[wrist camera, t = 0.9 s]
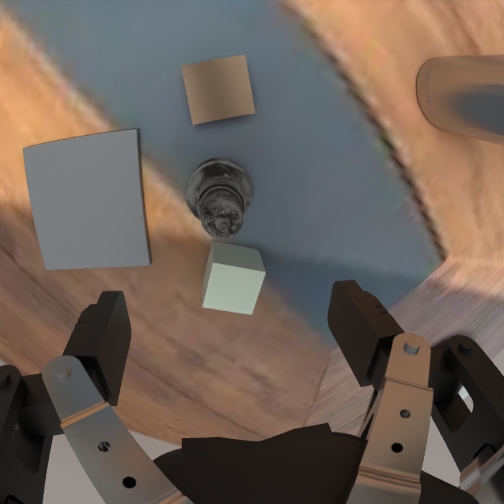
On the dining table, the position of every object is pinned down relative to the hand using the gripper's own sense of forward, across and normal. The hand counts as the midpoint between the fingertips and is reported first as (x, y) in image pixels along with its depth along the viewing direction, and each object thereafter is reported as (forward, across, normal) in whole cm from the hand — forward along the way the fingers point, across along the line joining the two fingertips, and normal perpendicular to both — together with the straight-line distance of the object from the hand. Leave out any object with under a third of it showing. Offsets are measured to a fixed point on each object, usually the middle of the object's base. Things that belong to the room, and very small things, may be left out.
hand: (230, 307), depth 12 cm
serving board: (+21, +13, +1) cm, 25 cm away
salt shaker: (+21, -1, 0) cm, 21 cm away
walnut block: (+21, 0, -9) cm, 22 cm away
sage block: (+21, -2, +9) cm, 23 cm away
